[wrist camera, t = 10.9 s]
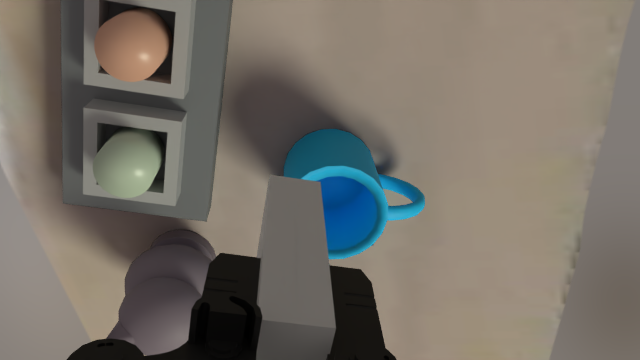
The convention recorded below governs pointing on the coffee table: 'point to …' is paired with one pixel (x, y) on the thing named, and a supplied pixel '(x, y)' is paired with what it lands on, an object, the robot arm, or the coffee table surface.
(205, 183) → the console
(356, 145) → the mug
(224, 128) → the coffee table surface
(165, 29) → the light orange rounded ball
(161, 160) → the sage button
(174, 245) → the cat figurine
